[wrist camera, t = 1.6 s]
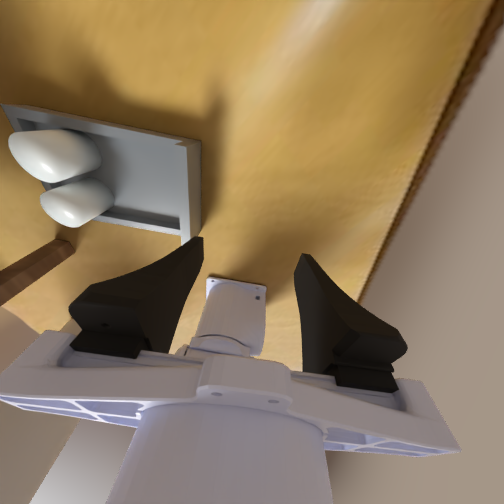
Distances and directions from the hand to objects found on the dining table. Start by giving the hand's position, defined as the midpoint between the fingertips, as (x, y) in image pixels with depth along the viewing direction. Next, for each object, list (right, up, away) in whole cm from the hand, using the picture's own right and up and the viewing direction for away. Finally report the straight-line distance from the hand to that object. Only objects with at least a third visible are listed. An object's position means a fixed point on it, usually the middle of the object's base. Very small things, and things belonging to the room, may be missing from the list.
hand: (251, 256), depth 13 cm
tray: (-14, +8, +7) cm, 17 cm away
